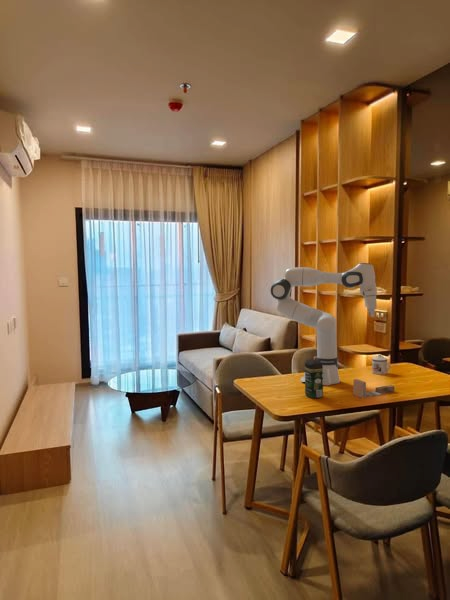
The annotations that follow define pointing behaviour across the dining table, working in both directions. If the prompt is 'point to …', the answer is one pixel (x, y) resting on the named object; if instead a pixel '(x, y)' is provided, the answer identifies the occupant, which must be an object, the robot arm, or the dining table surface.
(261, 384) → the dining table surface
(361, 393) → the tile
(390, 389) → the turner
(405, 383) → the dining table surface
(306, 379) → the coffee jar
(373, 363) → the teacup with lid
